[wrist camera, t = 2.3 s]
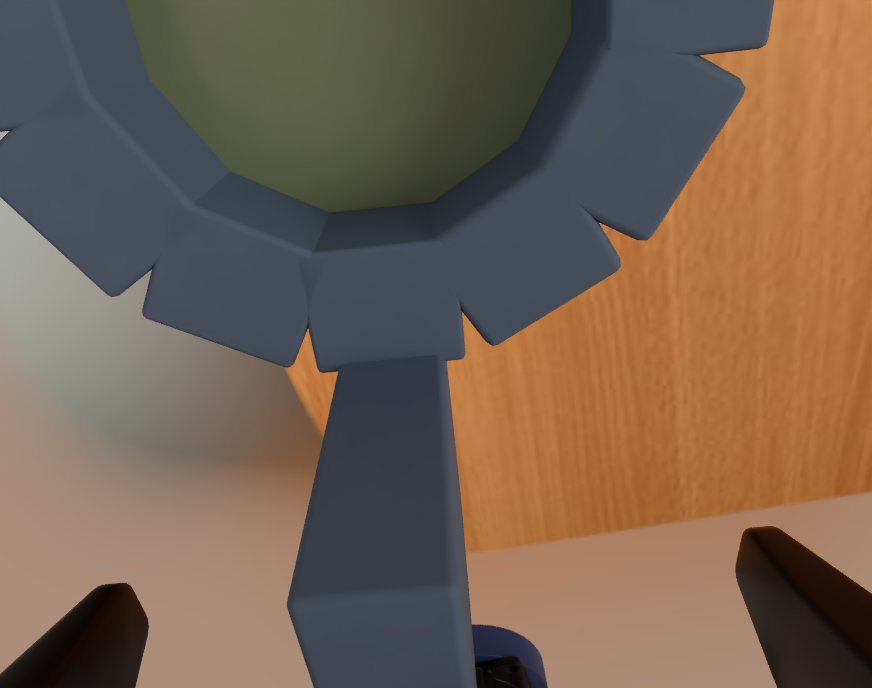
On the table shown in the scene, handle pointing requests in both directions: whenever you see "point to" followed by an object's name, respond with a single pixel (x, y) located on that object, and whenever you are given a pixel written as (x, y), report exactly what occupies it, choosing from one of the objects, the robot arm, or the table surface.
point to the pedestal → (353, 88)
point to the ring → (366, 274)
